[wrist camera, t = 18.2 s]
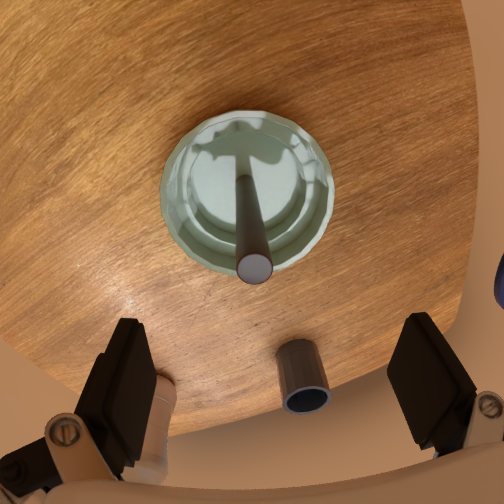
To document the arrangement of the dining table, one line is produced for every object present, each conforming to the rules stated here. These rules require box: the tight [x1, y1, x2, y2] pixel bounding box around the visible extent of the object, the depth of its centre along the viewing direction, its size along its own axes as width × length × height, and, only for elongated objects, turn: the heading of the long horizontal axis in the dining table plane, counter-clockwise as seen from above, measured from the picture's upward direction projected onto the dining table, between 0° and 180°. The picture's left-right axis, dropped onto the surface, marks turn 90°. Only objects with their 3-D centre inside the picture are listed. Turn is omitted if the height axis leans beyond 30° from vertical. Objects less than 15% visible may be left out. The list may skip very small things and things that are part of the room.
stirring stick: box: [235, 175, 273, 285], centre depth 22 cm, size 2×2×16 cm
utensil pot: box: [276, 340, 332, 415], centre depth 37 cm, size 6×6×8 cm
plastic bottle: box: [121, 375, 177, 485], centre depth 34 cm, size 6×7×20 cm
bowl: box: [159, 109, 335, 276], centre depth 28 cm, size 14×14×6 cm
